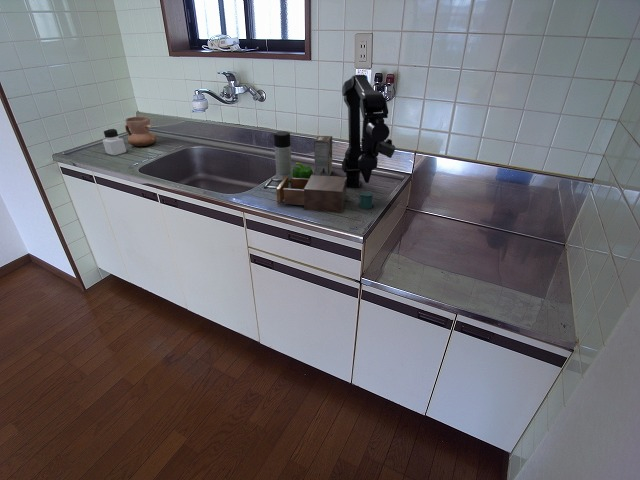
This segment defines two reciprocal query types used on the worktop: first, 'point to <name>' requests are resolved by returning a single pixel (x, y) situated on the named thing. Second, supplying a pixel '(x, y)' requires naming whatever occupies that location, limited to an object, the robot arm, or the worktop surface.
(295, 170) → the bell pepper
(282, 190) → the drawer
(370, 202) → the tea tin
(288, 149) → the spray can
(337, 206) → the cabinet
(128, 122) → the ceramic jug
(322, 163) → the coffee box
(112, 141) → the medicine bottle
